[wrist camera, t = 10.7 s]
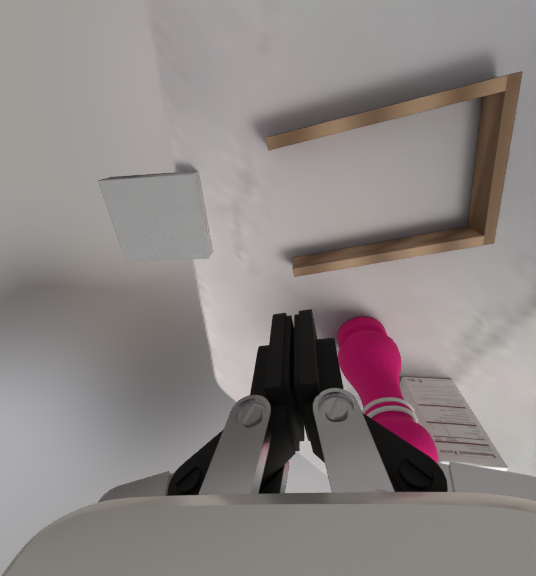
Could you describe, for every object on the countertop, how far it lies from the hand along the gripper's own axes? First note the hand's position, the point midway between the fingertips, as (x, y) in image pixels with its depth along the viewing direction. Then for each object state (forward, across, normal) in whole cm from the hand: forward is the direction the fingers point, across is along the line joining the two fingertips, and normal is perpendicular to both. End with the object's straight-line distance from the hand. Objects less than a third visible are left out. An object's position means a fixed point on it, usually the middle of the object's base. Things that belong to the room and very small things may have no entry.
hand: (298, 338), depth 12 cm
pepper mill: (+22, -6, +18) cm, 29 cm away
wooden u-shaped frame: (+22, -8, -1) cm, 23 cm away
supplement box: (+22, -14, +31) cm, 41 cm away
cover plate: (+22, +15, -2) cm, 26 cm away
